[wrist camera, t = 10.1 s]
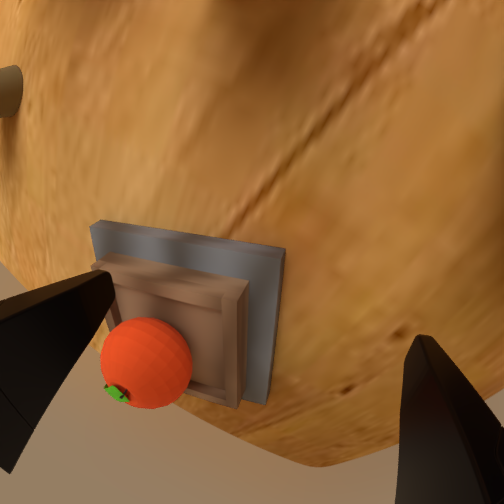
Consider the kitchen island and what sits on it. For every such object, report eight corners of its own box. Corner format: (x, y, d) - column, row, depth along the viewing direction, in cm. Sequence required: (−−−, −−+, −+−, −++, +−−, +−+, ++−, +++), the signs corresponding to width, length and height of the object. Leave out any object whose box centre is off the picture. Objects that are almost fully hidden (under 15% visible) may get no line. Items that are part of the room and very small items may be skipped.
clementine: (163, 371, 26) (124, 428, 20) (113, 316, 24) (64, 368, 18) (224, 355, 22) (185, 429, 16) (166, 286, 21) (106, 352, 15)
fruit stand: (285, 248, 20) (271, 280, 17) (269, 393, 28) (258, 425, 24) (100, 219, 24) (69, 238, 21) (132, 351, 31) (113, 374, 28)
